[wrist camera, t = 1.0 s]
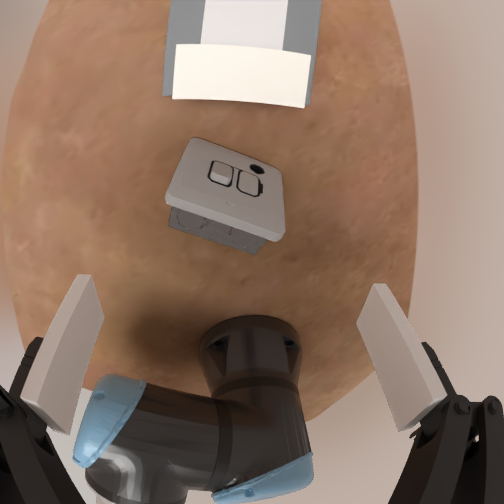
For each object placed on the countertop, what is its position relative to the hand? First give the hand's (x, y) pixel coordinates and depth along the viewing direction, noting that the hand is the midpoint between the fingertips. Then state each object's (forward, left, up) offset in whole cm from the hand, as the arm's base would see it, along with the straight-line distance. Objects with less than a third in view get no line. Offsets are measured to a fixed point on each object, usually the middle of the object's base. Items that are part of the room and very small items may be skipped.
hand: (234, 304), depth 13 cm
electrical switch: (0, 0, -18) cm, 18 cm away
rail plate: (+19, 0, -18) cm, 26 cm away
